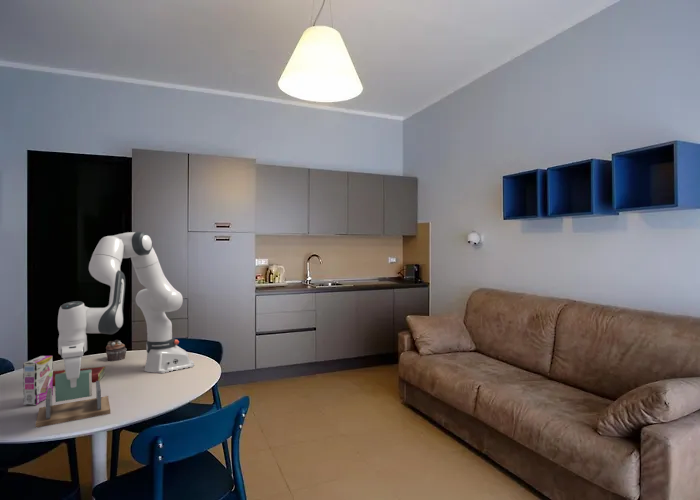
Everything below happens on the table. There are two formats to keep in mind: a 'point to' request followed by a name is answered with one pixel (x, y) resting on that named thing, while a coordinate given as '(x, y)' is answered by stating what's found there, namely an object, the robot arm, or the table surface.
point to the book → (68, 393)
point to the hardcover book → (96, 371)
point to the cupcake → (115, 350)
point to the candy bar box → (37, 379)
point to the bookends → (49, 400)
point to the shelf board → (73, 411)
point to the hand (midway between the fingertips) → (73, 385)
